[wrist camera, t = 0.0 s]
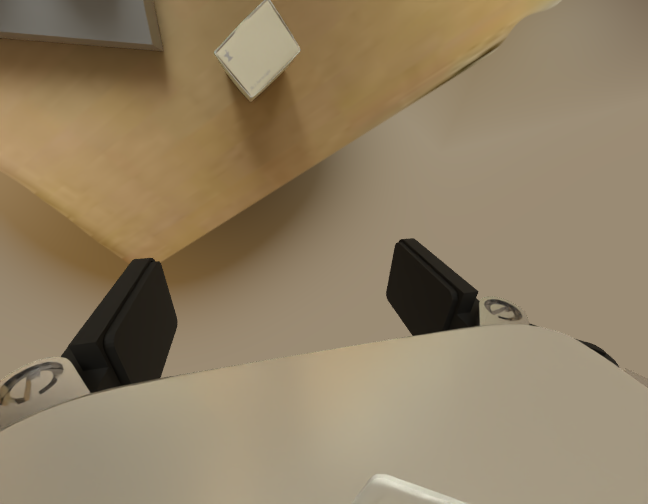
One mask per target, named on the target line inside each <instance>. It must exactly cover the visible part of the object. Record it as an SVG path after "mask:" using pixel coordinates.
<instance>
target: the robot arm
mask: <svg viewBox="0 0 648 504" xmlns="http://www.w3.org/2000/svg"><path fill="white" fill-rule="evenodd" d="M477 294H478V291H477V290H476V289H475V288H474V287H472V286H471V285H470V284H469V283H467V282H466V281H465V280H464V279H462V278H461V277H460V276H459V275H458V274H456V273H455V272H454V271H453V270H452V269H451V268H449V267H448V266H447V265H445V264H444V263H443V262H442V261H441V260H439V259H438V258H437V257H436V256H435V255H433V254H432V253H431V252H430V251H429V250H427V249H426V248H425V247H424V246H422V245H421V244H420V243H419V242H418V241H416V240H415V239H401V240H400V241H399V242H398V243H396V245H395V249H394V254H393V260H392V265H391V271H390V276H389V281H388V286H387V291H386V296H387V299H388V301H389V302H390V304H391V305H392V307H393V308H394V310H395V311H396V313H397V314H398V315H399V317H400V318H401V320H402V321H403V323H404V324H405V325H406V327H407V328H408V330H409V331H410V333H411V334H412V335H413V336H409V337H403V338H397V339H391V340H385V341H379V342H373V343H366V344H360V345H354V346H348V347H343V348H337V349H330V350H324V351H318V352H312V353H306V354H300V355H294V356H288V357H282V358H276V359H270V360H264V361H258V362H252V363H246V364H241V365H234V366H229V367H223V368H217V369H211V370H205V371H199V372H193V373H187V374H182V375H176V376H170V377H164V378H160V377H161V374H162V371H163V368H164V365H165V362H166V359H167V356H168V353H169V350H170V346H171V344H172V341H173V338H174V334H175V332H176V328H177V317H176V313H175V310H174V307H173V303H172V300H171V296H170V293H169V289H168V286H167V283H166V279H165V276H164V272H163V269H162V265H161V263H160V262H159V261H157V262H155V260H154V259H153V258H145V259H134V260H132V262H131V263H130V264H129V266H128V267H127V268H126V270H125V271H124V272H123V274H122V275H121V276H120V278H119V279H118V280H117V282H116V283H115V284H114V286H113V287H112V288H111V290H110V291H109V292H108V294H107V295H106V296H105V298H104V299H103V300H102V302H101V303H100V304H99V306H98V307H97V308H96V309H95V311H94V312H93V314H92V315H91V316H90V318H89V319H88V320H87V322H86V323H85V324H84V325H83V327H82V328H81V329H80V331H79V332H78V334H77V335H76V336H75V337H74V339H73V340H72V342H71V343H70V344H69V346H68V347H67V349H66V350H65V351H64V353H63V354H62V356H61V357H49V358H45V359H41V360H37V361H34V362H32V363H30V364H27V365H25V366H23V367H21V368H19V369H17V370H15V371H14V372H12V373H10V374H9V375H7V376H6V377H5V378H3V379H2V380H1V381H0V504H648V379H647V378H645V377H643V376H641V375H638V374H637V373H634V372H632V371H630V370H628V369H625V370H624V371H623V370H622V369H620V368H619V366H618V364H617V363H616V361H615V360H614V359H612V358H611V357H610V356H609V355H608V354H607V353H606V352H605V351H604V350H602V349H601V348H599V347H597V346H596V345H593V344H591V343H588V342H583V341H580V340H577V339H575V338H572V337H570V336H568V335H566V334H564V333H561V332H558V331H554V330H551V329H547V328H543V327H538V326H535V325H532V324H529V321H528V317H527V315H526V313H525V312H524V311H523V310H522V309H521V308H520V307H519V306H517V305H516V304H514V303H512V302H510V301H508V300H505V299H502V298H498V297H484V298H482V299H481V300H480V301H479V300H477V299H476V296H477Z"/></svg>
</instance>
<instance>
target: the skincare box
mask: <svg viewBox="0 0 648 504" xmlns="http://www.w3.org/2000/svg"><path fill="white" fill-rule="evenodd" d="M300 51H301V49H300V47H299V45H298V44H297V42H296V40H295V39H294V37H293V35H292V34H291V32H290V30H289V29H288V27H287V26H286V24H285V22H284V21H283V19H282V18H281V16H280V14H279V13H278V11H277V10H276V8H275V7H274V5H273V3H272V2H271V0H264V1H263V2H262V3H261V4H260V5H258V6H257V7H256V8H255V9H254V10H253V11H252V12H251V13H250V14H249V15H248V16H247V17H246V18H245V19H244V20H243V21H242V22H241V23H240V24H239V25H238V26H237V27H236V29H235V30H234V31H233V32H232V33H231V34H230V35H229V36H228V37H227V38H226V39H225V40H224V41H223V43H222V44H221V45H220V46H219V47H218V48H217V49H216V50H215V51H214V54H215V56H216V57H217V59H218V61H219V62H220V64H221V65H222V67H223V69H224V70H225V72H226V73H227V75H228V76H229V77H230V78H231V80H232V81H233V82H234V83H235V85H236V86H237V87H238V88H239V90H240V91H241V92H242V93H243V94H244V96H245V97H246V98H247V99H248V100H249V101H250V102H252V101H253V100H254V99H255V98H256V97H257V96H258V95H259V94H261V93H262V92H263V91H264V90H265V89H266V88H267V87H268V86H269V85H270V84H271V83H272V82H273V81H274V80H275V79H276V78H277V77H278V76H279V75H280V74H281V73H282V72H283V71H284V70H285V69H286V68H287V67H288V66H289V65H290V63H291V62H292V61H293V60H294V59H295V57H296V56H297V55H298V54H299V52H300Z"/></svg>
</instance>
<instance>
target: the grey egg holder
mask: <svg viewBox="0 0 648 504" xmlns="http://www.w3.org/2000/svg"><path fill="white" fill-rule="evenodd" d="M0 38H7V39H19V40H31V41H43V42H56V43H68V44H80V45H93V46H105V47H117V48H129V49H142V50H154V51H163V46H162V41H161V36H160V31H159V26H158V21H157V16H156V11H155V6H154V1H153V0H0Z"/></svg>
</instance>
